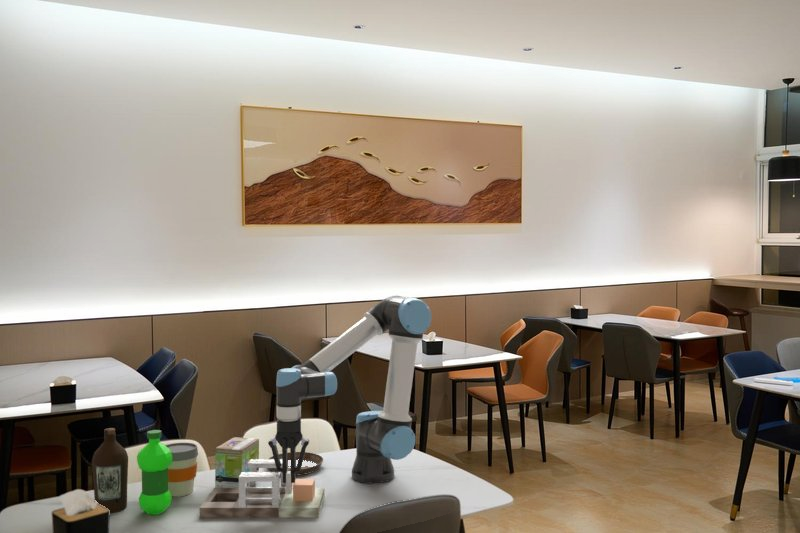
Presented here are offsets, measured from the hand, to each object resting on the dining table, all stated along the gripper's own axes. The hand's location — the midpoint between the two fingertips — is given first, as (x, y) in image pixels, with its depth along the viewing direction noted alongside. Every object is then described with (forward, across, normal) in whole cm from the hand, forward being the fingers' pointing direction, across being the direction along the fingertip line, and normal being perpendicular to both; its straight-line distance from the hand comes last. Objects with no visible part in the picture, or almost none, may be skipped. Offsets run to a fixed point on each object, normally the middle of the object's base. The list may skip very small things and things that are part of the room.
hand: (289, 492), depth 238 cm
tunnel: (+1, +8, 0) cm, 8 cm away
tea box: (+5, +21, -21) cm, 30 cm away
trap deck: (+5, +8, 0) cm, 9 cm away
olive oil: (+5, +56, +1) cm, 56 cm away
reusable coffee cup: (+5, +39, -14) cm, 42 cm away
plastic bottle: (+5, +41, +4) cm, 41 cm away
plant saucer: (+5, +4, -40) cm, 40 cm away
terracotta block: (+2, -5, 0) cm, 5 cm away
